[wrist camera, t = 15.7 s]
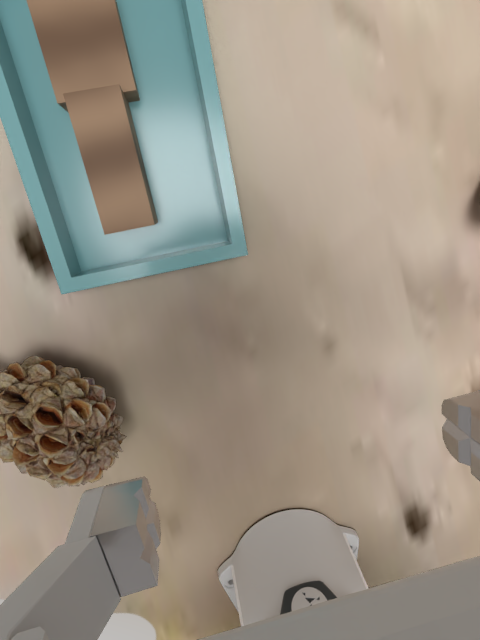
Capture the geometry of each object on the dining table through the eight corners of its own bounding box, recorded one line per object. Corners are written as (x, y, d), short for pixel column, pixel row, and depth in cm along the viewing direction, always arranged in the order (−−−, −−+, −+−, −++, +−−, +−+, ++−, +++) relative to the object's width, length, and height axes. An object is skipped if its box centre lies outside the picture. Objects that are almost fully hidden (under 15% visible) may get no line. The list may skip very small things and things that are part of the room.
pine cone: (152, 389, 40) (143, 444, 31) (105, 456, 42) (82, 529, 32) (-61, 273, 34) (-154, 298, 25) (-107, 357, 35) (-212, 411, 26)
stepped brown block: (168, 220, 35) (166, 222, 30) (104, 233, 34) (91, 237, 30) (116, 1, 30) (104, -38, 25) (39, 13, 29) (11, -25, 25)
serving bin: (241, 250, 37) (247, 254, 34) (74, 285, 36) (61, 294, 32) (184, -55, 30) (185, -94, 26) (-30, -26, 28) (-62, -62, 25)
